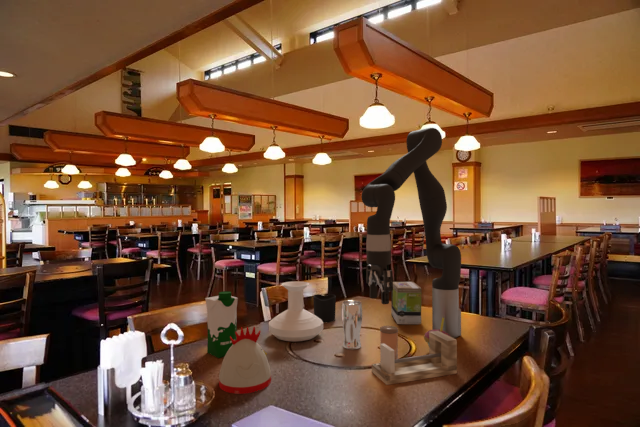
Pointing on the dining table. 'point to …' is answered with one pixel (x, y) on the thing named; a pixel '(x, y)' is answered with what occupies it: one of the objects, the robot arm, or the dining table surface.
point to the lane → (424, 362)
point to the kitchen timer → (245, 365)
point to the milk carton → (221, 323)
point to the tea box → (406, 303)
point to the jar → (390, 337)
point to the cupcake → (426, 336)
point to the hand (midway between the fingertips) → (379, 300)
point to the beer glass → (351, 323)
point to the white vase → (295, 317)
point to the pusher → (389, 359)
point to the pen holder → (325, 307)
